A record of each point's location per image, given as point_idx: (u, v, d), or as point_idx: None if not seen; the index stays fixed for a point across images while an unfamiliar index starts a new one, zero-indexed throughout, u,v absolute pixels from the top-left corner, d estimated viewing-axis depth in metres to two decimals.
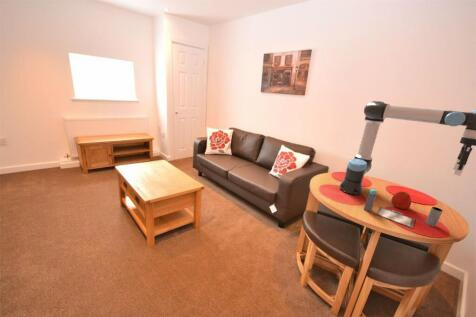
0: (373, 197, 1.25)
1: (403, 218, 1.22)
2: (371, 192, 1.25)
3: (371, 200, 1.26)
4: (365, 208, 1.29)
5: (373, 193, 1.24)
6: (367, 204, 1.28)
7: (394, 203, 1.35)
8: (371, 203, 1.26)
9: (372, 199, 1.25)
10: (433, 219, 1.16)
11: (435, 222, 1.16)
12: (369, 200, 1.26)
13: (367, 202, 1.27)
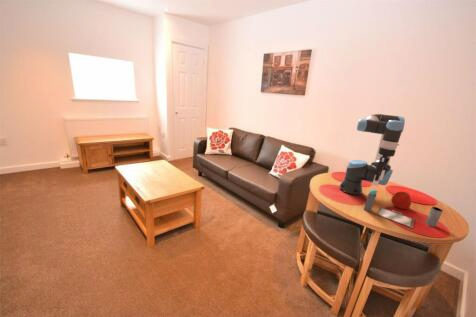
0: (373, 197, 1.25)
1: (403, 218, 1.22)
2: (371, 192, 1.25)
3: (371, 200, 1.26)
4: (365, 208, 1.29)
5: (373, 193, 1.24)
6: (367, 204, 1.28)
7: (394, 203, 1.35)
8: (371, 203, 1.26)
9: (372, 199, 1.25)
10: (433, 219, 1.16)
11: (435, 222, 1.16)
12: (369, 200, 1.26)
13: (367, 202, 1.27)
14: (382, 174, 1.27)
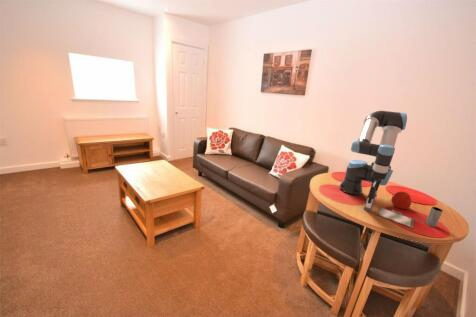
0: None
1: (403, 218, 1.22)
2: None
3: None
4: (365, 208, 1.29)
5: None
6: None
7: (394, 203, 1.35)
8: None
9: None
10: (433, 219, 1.16)
11: (435, 222, 1.16)
12: None
13: None
14: None
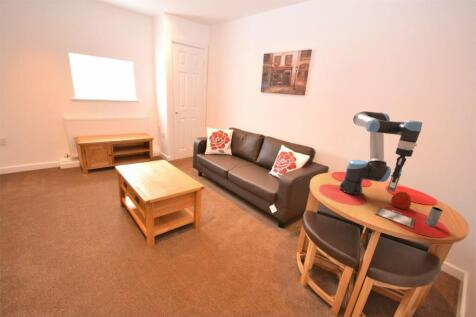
0: (398, 176, 1.20)
1: (403, 218, 1.22)
2: None
3: None
4: (389, 188, 1.24)
5: None
6: None
7: (394, 203, 1.35)
8: None
9: None
10: (433, 219, 1.16)
11: (435, 222, 1.16)
12: None
13: None
14: None
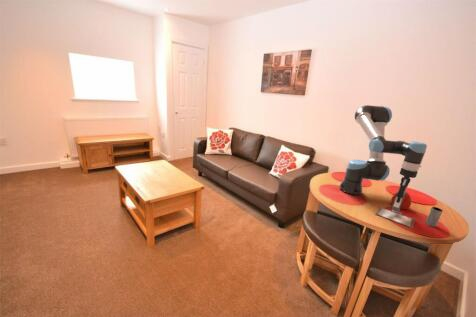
0: None
1: (403, 218, 1.22)
2: None
3: None
4: (393, 208, 1.24)
5: None
6: None
7: None
8: None
9: None
10: (433, 219, 1.16)
11: (435, 222, 1.16)
12: None
13: None
14: None
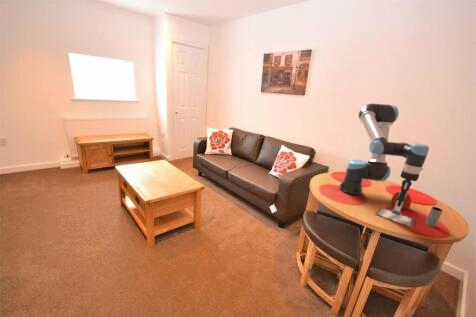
0: None
1: (403, 218, 1.22)
2: None
3: None
4: (393, 211, 1.21)
5: None
6: None
7: (394, 203, 1.35)
8: None
9: None
10: (433, 219, 1.16)
11: (435, 222, 1.16)
12: None
13: None
14: None
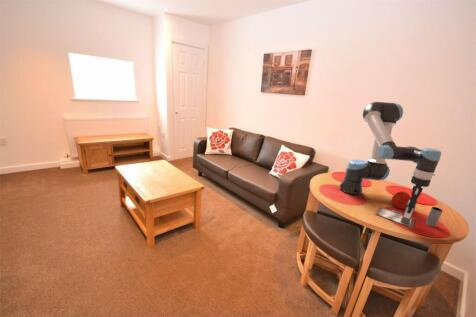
0: None
1: None
2: None
3: None
4: (402, 220, 1.17)
5: None
6: (404, 217, 1.16)
7: (394, 203, 1.35)
8: None
9: None
10: (433, 219, 1.16)
11: (435, 222, 1.16)
12: None
13: None
14: None
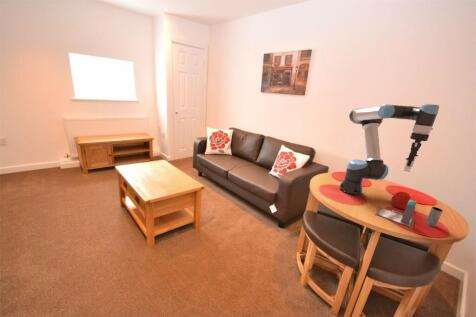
0: (412, 209, 1.13)
1: None
2: (410, 203, 1.14)
3: (410, 212, 1.14)
4: (402, 220, 1.17)
5: (412, 204, 1.13)
6: (404, 217, 1.16)
7: (394, 203, 1.35)
8: (410, 215, 1.15)
9: (411, 211, 1.14)
10: (433, 219, 1.16)
11: (435, 222, 1.16)
12: (408, 212, 1.15)
13: (405, 214, 1.16)
14: (412, 161, 1.24)
